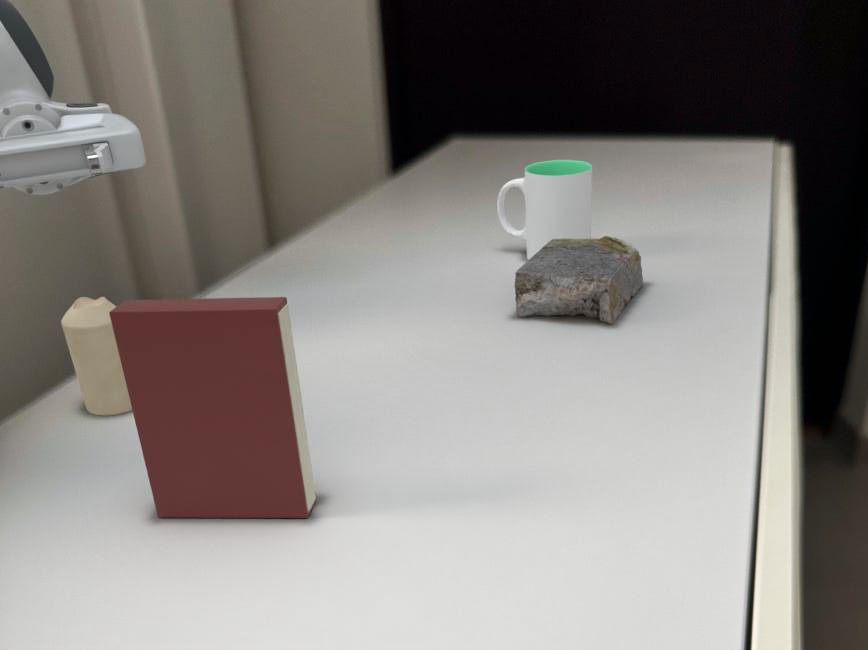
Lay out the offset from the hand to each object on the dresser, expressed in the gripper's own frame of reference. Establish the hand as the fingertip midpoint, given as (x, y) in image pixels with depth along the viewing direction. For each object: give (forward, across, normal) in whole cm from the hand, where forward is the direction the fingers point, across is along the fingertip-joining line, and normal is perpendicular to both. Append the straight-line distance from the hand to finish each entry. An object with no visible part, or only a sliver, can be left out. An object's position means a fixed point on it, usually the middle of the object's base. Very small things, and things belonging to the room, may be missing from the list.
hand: (46, 172), depth 99 cm
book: (+39, +5, +19) cm, 44 cm away
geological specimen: (+11, +51, +19) cm, 56 cm away
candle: (+12, 0, +19) cm, 22 cm away
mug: (-7, +56, +19) cm, 60 cm away
